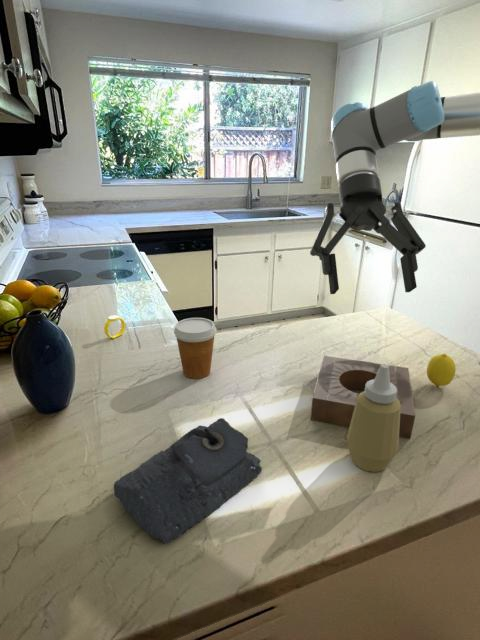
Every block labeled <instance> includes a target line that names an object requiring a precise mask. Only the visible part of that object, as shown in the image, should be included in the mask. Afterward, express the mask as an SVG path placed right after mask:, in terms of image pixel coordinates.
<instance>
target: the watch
mask: <svg viewBox="0 0 480 640" xmlns="http://www.w3.org/2000/svg"><path fill="white" fill-rule="evenodd" d="M118 320H119V321H120V324H121V325H120V330H119V332H117V333H115V334H114V335H111V334H110V333H109V328H110V325H111V323H112V322H116V321H118ZM103 330H104V334H105V335H106V337H108V338H110V339H114V340H115V339H116V338H118V337H120V336H123V334H124V333H125V331H126V321H125V320H124V319H123V318H122V317H120V316H119V315H117V314H112V315H109V316H108V317H107V320H106V322H105V324H104V327H103Z"/></svg>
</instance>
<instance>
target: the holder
mask: <svg viewBox="0 0 480 640" xmlns="http://www.w3.org/2000/svg"><path fill="white" fill-rule="evenodd" d="M381 364H382V363H377V362H372V361H365V360H356V359H350V358H349V359H348V358H343V357H336V356H328V355H323V357H322V361H321V365H320V369H319V371H318V374H317V377H316V378H317V379H316V383H315V387H314V391H313V395H312V399H311V400H312V401H311V410H310V421H315V422H319V423H325V424H331V425H337V426H341V427H346V428H349V427H350V423H351V419H352V416H353V412H354V408H355V405H356V401H357V397H358V395H359V394H360V393H358V392H354V391H361V392H364V391H365V385H366V383H367V382H368V381H370V380H373V379H375V377H376V375H377V373H378V370H379V368H380V366H381ZM387 365H388V366H389V375H390V383H392V384H393V385H394V386H396V388H397V394H396V398H397V399H398V400H399V401H400V404H401V412H400V428H399V438H405V439H409V440H410V439H411V438H412V433H413V428H414V424H415V420H416V419H415V418H416V413H415V412H416V411H415V404H414V399H413V398H414V397H413V387H412V384H411V378H410V377H411V376H410V370H409V367H404V366H398V365H391V364H387Z"/></svg>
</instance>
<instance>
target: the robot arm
mask: <svg viewBox="0 0 480 640" xmlns="http://www.w3.org/2000/svg"><path fill="white" fill-rule="evenodd" d="M330 123H331V124H330V127H331V135H330V136H331V143H332V147H333V156H334V163H335V172H336V179H337V180H336V181H337V186H338V187H337V190H338V191H337V192H338V197H339V199H338V200H339V205H340V206H335V204H333V203H332V202H328V203H327V205H326V207H325V209H324V211H323V221H322V223H321V225H320V228H319V231H318V233H317V235H316V238H315V239H314V242H313V243H312V244H313V245H312V247H311V249H310V252H309V254H310V256H312V257H318V259H319V261H321V269H322V273H323V275H324V276H327V278H328V285H329V286H328V287H329V294H330V295H335V294H336V293H337V292H338V291H339V290H340V287H339V278H338V277H339V276H338V268H337V260H336V253H331V252H332V251H334V249H335V247H336V246H338V244H339V243H340V242H341V240H342V239H343V238H344V236H345V235H346V234H347V232H348V231H349V230H350V229H352V230H353V231H354V232H359V231H364V232H365V231H366V232H371V231H372V230H373V231H374V232H376V233H377V234H379V235H381V236H382V237H383V238H384V239H385V240H386V241H388V243H390V245H392V247H394V248H395V249H396V250H397V251H398V252H399V253H400V254H401V255H402V256H401V257H400V258H399V259H400V267H401V273H402V279H403V280H402V281H403V286H404V292H405V293H411V292H412V291H414V290H415V289H417V288H418V286H417V280H416V272H417V271H418V269H419V266H418V260H417V255H418V254H419V253H421V252H422V251H423V250H424V249H425V248H426V246H427V245H426V243H425V242H424V240H423V239H422V237H421V236H420V235H419V233H418V232H417V231H416V229H415V228H414V226H413V225H412V224H411V222H410V221H409V219H408V218H407V216H406V215H405V214H404V211H403V208H402V204H401V203H400V202H395V203H394V204H393V205H388V206H386V205H385V204H384V201H383V192H382V186H381V180H380V173H379V171H380V170H379V166H378V159H377V153H376V152H377V151H380V150H382V149H385V148H388V147H389V146H392V145H394V144H397V143H400V142H403V141H406V142H419V141H423V140H437V139H447V138H461V137H462V138H463V137H475V136H480V92H475V93H474V92H473V93H463V94H456V95H448V96H447V95H446V96H441V94H440V90H439V87H438V83H437V82H435V80H430V81H427V82H425V83H421V84H420V85H414V86H413V87H411V88H410V89H408V90H406V91H404V92H402V93H399V94H398V95H396V96H394V97H392V98H389V99H388V100H386V101H384V102H381V103H380V104H377V105H376V106H372V107H368V106H367V104H365V103H363V102H359V101H355V102H353V103H350V102H348V103H346V104H343V105H342V106H340V107H339V108H338V109H337V110H336V111H335V112H334V114H333V115H332V117H331V122H330ZM385 215H387V217H386V216H385ZM337 216H339V218H341V219H342V220H343V222H344V223H343V224H342V225H341V226H340V228H338V230H337V231H336V233H335V234H334V236H333V237H332V238H331V239H330V240H329V242H328V243H326V246H325V247H323V246H322V244H323V242H324V240H325V237H326V235H327V232H328V230H329V228H330V225H331V223H332V221H333V220H334V219H336V217H337ZM391 223H392V224H391Z"/></svg>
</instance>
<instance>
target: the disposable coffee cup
mask: <svg viewBox="0 0 480 640" xmlns="http://www.w3.org/2000/svg"><path fill="white" fill-rule="evenodd" d="M216 333H217V327H216V325H215V322H214V321H213V320H211V319H208V318H205V317H189V318H184V319H182V320H179V321H178V322H177V323H176V324H175V327H174V329H173V334H174V336H175V337H176V343H177V347H178V352H179V358H180V363H181V368H182V372H183V373H182V374H183V375H184V376H185V378H189V379H194V380H198V379H203V378H206V377H208V376H209V375H210V374H211V368H212V361H213V360H212V358H213V353H214V344H215V343H214V341H215V336H216Z"/></svg>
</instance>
